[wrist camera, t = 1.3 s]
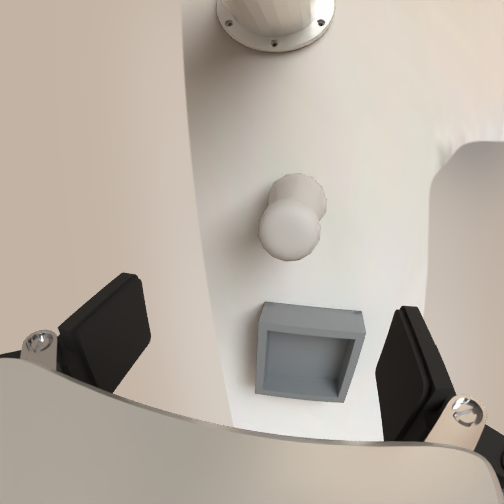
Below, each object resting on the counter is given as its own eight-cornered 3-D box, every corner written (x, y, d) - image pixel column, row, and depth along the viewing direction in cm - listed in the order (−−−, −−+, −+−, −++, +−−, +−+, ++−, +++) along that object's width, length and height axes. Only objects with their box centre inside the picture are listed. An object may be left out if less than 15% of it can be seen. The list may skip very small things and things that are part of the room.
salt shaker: (322, 167, 30) (328, 186, 18) (328, 220, 32) (336, 271, 20) (267, 174, 31) (236, 198, 19) (275, 226, 33) (252, 278, 21)
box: (265, 301, 37) (258, 322, 33) (361, 311, 35) (365, 332, 31) (260, 371, 41) (254, 393, 37) (342, 379, 39) (343, 402, 35)
